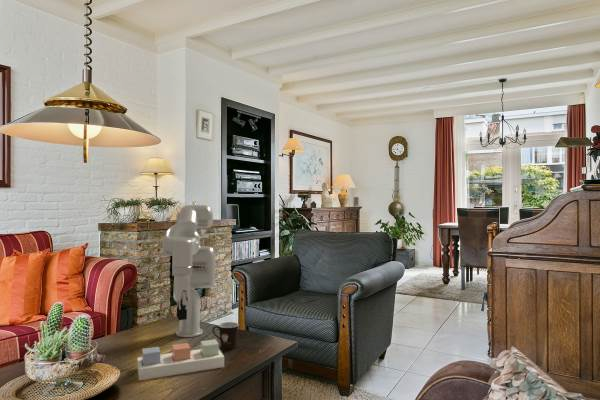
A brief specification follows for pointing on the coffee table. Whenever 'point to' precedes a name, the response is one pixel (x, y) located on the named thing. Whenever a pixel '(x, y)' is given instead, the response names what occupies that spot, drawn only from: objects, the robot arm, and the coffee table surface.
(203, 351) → the sage button
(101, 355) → the rabbit figure
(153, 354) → the slate button
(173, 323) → the coffee table surface
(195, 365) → the button panel
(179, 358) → the terracotta button
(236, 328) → the coffee mug
